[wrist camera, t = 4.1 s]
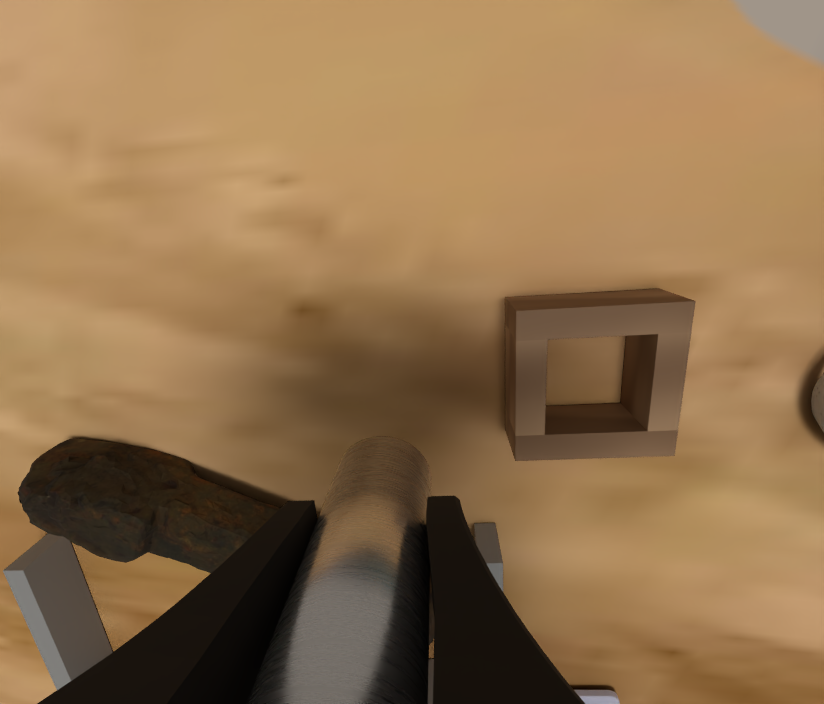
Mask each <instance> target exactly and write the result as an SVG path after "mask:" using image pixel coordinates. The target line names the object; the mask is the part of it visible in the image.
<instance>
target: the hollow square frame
mask: <svg viewBox="0 0 824 704" xmlns="http://www.w3.org/2000/svg"><path fill="white" fill-rule="evenodd" d="M694 308H695V301H694V300H691V299H688V298H685V297H682V296H679V295H676V294H673V293H671V292H668V291H665V290H662V289H642V290H625V291H608V292H590V293H573V294H556V295H538V296H521V297H505V430H506V433H507V436H508V440H509V443H510V446H511V449H512V452H513V455H514V458H515V461H529V460H560V459H592V458H624V457H655V456H675V448H676V441H677V434H678V426H679V419H680V412H681V404H682V397H683V389H684V382H685V375H686V367H687V360H688V353H689V345H690V338H691V331H692V323H693V316H694ZM609 336H626V345H625V356H624V368H623V379H622V390H621V402H620V403H611V404H586V405H561V406H546V374H547V340H550V339H569V338H589V337H609Z"/></svg>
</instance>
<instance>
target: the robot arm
mask: <svg viewBox="0 0 824 704" xmlns="http://www.w3.org/2000/svg"><path fill="white" fill-rule="evenodd" d="M316 522H317V514H316V508H315V503H314V500H311V501H288V502H287V503H286V504H285V505H284V506H283V507H281V508H280V509H279V510H278V511H277V512H276V513H275V514H274V515H273V516H272V517H271V518H270V519H269V520H268V521H267V522H266V523H265V524H264V525H263V526H262V527H261V528H260V529H258V530H257V531H256V532H255V533H254V534H253V535H252V536H251V537H250V538H249V539H248V540H247V541H246V542H245V543H244V544H243V545H242V546H241V547H239V548H238V549H237V550H236V551H235V552H234V553H233V554H232V555H231V556H230V557H229V558H228V559H227V560H226V561H225V562H223V563H222V564H221V565H220V566H219V567H218V568H217V569H216V570H215V571H213V572H212V573H211V574H210V575H209V576H208V577H206V578H205V579H204V580H203V581H202V582H201V583H199V584H198V585H197V586H196V587H195V588H194V589H193V590H191V591H190V592H189V593H188V594H187V595H186V596H184V597H183V598H182V599H181V600H180V601H179V602H178V603H176V604H175V605H174V606H173V607H171V608H170V609H169V610H168V611H167V612H165V613H164V614H163V615H162V616H160V617H159V618H158V619H156V620H155V621H154V622H153V623H151V624H150V625H149V626H148V627H146V628H145V629H144V630H142V631H141V632H140V633H138V634H137V635H136V636H134V637H133V638H132V639H130V640H129V641H128V642H126V643H125V644H124V645H122V646H121V647H120V648H118V649H117V650H115V651H114V652H113V653H111V654H110V655H109V656H107V657H106V658H104V659H103V660H101V661H100V662H98V663H97V664H95V665H94V666H92V667H91V668H90V669H88V670H87V671H85V672H84V673H82V674H81V675H79V676H78V677H76V678H75V679H73V680H72V681H70V682H69V683H67V684H66V685H64V686H63V687H61V688H60V689H58V690H57V691H56V692H54V693H53V694H51V695H50V696H48V697H47V698H45V699H44V700H42V701H41V702H39V703H38V704H247V702H248V699H249V696H250V694H251V691H252V689H253V686H254V683H255V681H256V678H257V676H258V673H259V670H260V668H261V665H262V663H263V660H264V657H265V655H266V652H267V650H268V647H269V644H270V642H271V639H272V637H273V634H274V631H275V629H276V626H277V624H278V621H279V618H280V616H281V613H282V611H283V608H284V605H285V603H286V600H287V598H288V595H289V592H290V590H291V587H292V585H293V582H294V579H295V577H296V574H297V572H298V569H299V566H300V564H301V561H302V559H303V556H304V554H305V551H306V548H307V546H308V543H309V541H310V538H311V535H312V533H313V530H314V528H315V525H316ZM426 525H427V537H428V550H429V562H430V575H431V587H432V599H433V612H434V623H435V630H434V676H433V704H619V699H618V696H617V694H616V693H615V692H614V691H612V690H573V689H572V687H571V686H570V685H569V684H568V683H567V681H566V680H565V679H564V678H563V676H562V675H561V674H560V673H559V671H558V670H557V669H556V667H555V666H554V665H553V663H552V662H551V661H550V660H549V658H548V657H547V656H546V654H545V653H544V652H543V650H542V649H541V648H540V646H539V645H538V644H537V642H536V641H535V639H534V638H533V637H532V635H531V634H530V632H529V631H528V630H527V628H526V627H525V625H524V624H523V622H522V621H521V620H520V618H519V617H518V615H517V614H516V612H515V610H514V609H513V607H512V606H511V604H510V603H509V601H508V600H507V598H506V596H505V595H504V593H503V591H502V590H501V588H500V587H499V585H498V583H497V582H496V580H495V578H494V576H493V575H492V573H491V571H490V569H489V567H488V566H487V564H486V562H485V560H484V558H483V556H482V554H481V552H480V551H479V549H478V547H477V545H476V543H475V540H474V538H473V536H472V534H471V532H470V529H469V527H468V525H467V522H466V520H465V517H464V514H463V511H462V508H461V504H460V500H459V499H458V498H457V497H456V496H431V497H428V498H427V508H426Z"/></svg>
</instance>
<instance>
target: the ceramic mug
mask: <svg viewBox="0 0 824 704" xmlns="http://www.w3.org/2000/svg"><path fill="white" fill-rule="evenodd" d="M811 409H812V413H813V415H814V418H815V419H816V421H817V423H818V424H819V426H820V428H821V429H822V431H823V432H824V373H823V374H822V376H821V377H820V378H819V379H818V381H817V383H816V385H815V386H814V389H813V391H812V398H811Z"/></svg>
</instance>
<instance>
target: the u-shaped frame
mask: <svg viewBox="0 0 824 704" xmlns="http://www.w3.org/2000/svg"><path fill="white" fill-rule="evenodd" d="M474 528H475V543H476V545H477V547H478V549H479V551H480V552H481V554H482V556H483V558H484V560H485V562H486V564H487V566H488V567H489V569H490V571H491V573H492V575H493V576H494V578H495V580H496V582H497V583H498V585H499V587H500V588H501V590H502V591H503V561H502V556H501V550H500V545H499V540H498V535H497V530H496V525H495V523H474ZM3 572H4V574H5V576H6V579H7V581H8V583H9V585H10V587H11V590H12V592H13V594H14V596H15V598H16V601H17V603H18V605H19V607H20V609H21V612H22V614H23V616H24V618H25V620H26V623H27V625H28V627H29V629H30V631H31V634H32V636H33V638H34V640H35V643H36V645H37V647H38V649H39V651H40V654H41V656H42V658H43V660H44V662H45V665H46V667H47V669H48V671H49V673H50V676H51V678H52V680H53V682H54V684H55V687H56V689H57V690H58V689H60V688H61V687H63V686H64V685H66V684H67V683H69V682H70V681H72V680H73V679H75V678H76V677H78V676H79V675H81V674H82V673H84V672H85V671H87V670H88V669H90V668H91V667H92V666H94V665H95V664H97V663H98V662H100V661H101V660H103V659H104V658H106V657H107V656H109V655H110V654H111V653H113V652H112V649H111V646H110V644H109V641H108V638H107V636H106V633H105V631H104V628H103V625H102V623H101V620H100V618H99V615H98V612H97V610H96V607H95V605H94V602H93V599H92V597H91V594H90V591H89V589H88V586H87V584H86V581H85V578H84V576H83V573H82V571H81V568H80V565H79V563H78V560H77V558H76V555H75V552H74V550H73V547H72V545H71V542H70V541H69V540H68V539H67V538H65V537H63V536H56V535H52V534H49V533H48V534H47V535H45V536H44V537H43V538H42V539H41V540H39V541H38V542H37V543H36V544H35V545H33V546H32V547H31V548H30V549H29V550H27V551H26V552H25V553H24V554H23V555H21V556H20V557H19V558H18V559H16V560H15V561H14V562H13V563H12V564H10V565H9V566H8V567H7V568H6V569H4V570H3ZM433 676H434V659H429V666H428V704H433Z"/></svg>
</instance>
